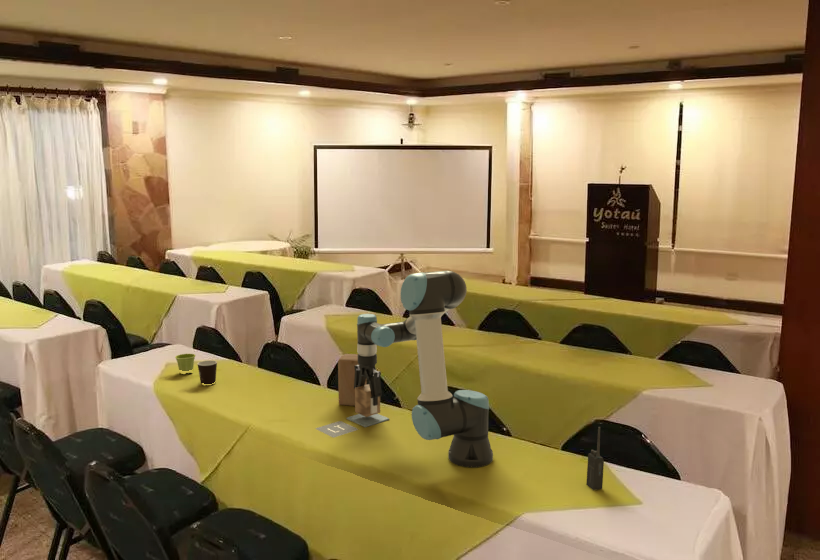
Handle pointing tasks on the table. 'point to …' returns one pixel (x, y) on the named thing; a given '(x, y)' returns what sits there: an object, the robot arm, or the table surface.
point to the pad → (367, 419)
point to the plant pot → (185, 361)
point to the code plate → (336, 429)
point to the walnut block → (364, 401)
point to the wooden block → (347, 379)
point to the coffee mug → (207, 371)
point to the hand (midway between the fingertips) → (367, 410)
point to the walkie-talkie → (595, 467)
